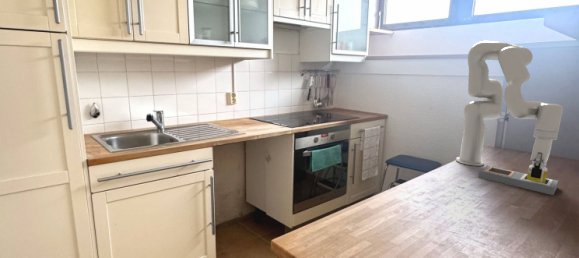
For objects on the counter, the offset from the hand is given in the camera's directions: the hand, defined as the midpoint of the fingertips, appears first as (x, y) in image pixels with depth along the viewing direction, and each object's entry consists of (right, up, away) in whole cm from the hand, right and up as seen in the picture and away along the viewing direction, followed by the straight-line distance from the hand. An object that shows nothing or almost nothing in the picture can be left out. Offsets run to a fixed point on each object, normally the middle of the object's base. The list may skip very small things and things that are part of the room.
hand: (537, 174), depth 131 cm
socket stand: (-5, -4, +6) cm, 8 cm away
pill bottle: (0, -5, +1) cm, 5 cm away
